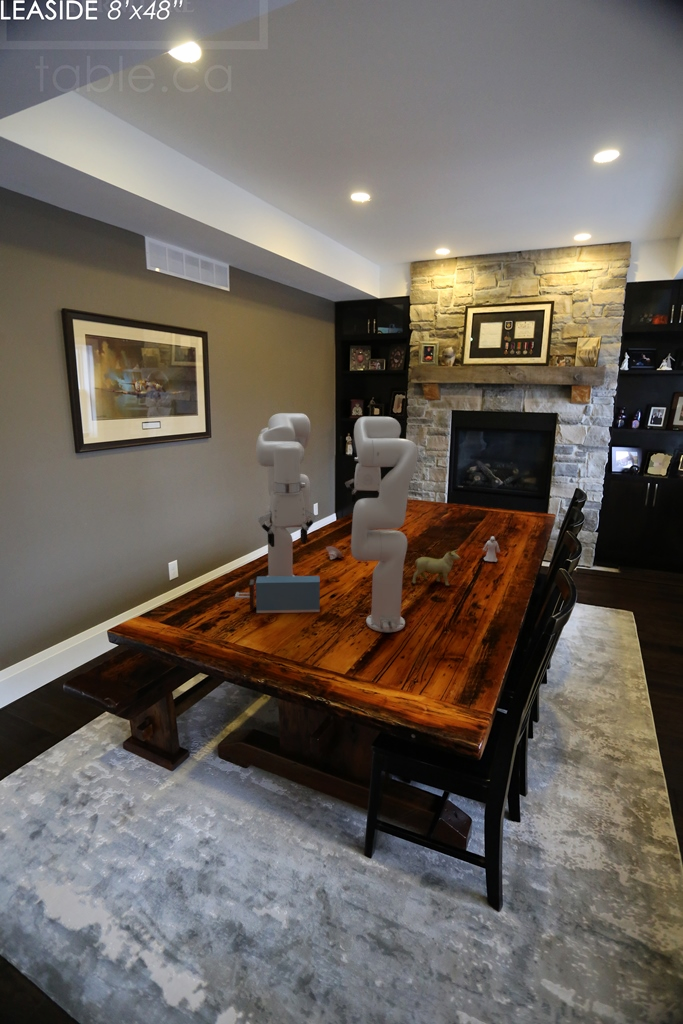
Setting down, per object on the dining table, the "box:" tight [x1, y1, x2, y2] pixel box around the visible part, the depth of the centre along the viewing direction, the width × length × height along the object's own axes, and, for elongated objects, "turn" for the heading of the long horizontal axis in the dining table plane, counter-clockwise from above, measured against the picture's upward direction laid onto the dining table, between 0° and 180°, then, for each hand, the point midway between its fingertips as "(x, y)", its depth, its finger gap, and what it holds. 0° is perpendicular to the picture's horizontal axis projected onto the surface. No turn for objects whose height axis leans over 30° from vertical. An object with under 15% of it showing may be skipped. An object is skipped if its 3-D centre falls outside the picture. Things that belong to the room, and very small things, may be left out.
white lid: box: [325, 545, 343, 561], centre depth 222 cm, size 8×5×8 cm
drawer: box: [234, 579, 256, 611], centre depth 171 cm, size 25×4×9 cm, turn 94°
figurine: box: [482, 535, 501, 563], centre depth 223 cm, size 8×8×12 cm
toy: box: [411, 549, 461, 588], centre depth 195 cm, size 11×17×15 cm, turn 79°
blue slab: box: [255, 575, 321, 614], centre depth 171 cm, size 21×6×11 cm, turn 94°
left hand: (287, 544), depth 149 cm, fingers open, 9 cm apart
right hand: (366, 503), depth 197 cm, fingers open, 9 cm apart
